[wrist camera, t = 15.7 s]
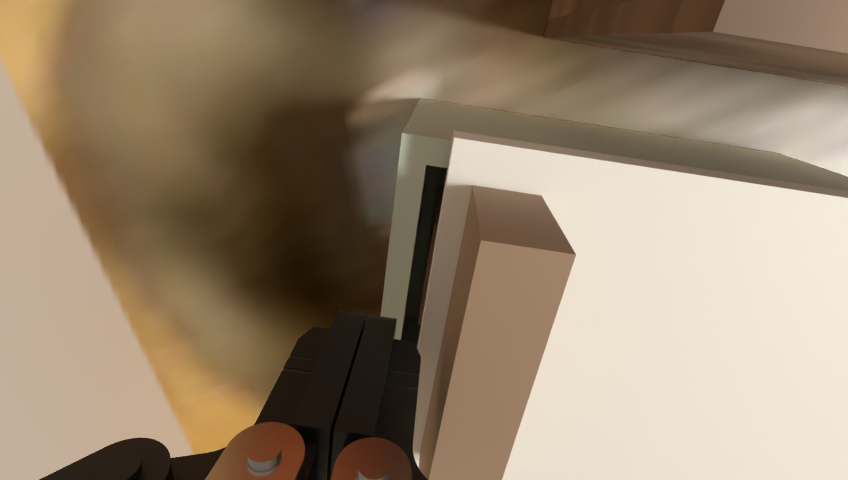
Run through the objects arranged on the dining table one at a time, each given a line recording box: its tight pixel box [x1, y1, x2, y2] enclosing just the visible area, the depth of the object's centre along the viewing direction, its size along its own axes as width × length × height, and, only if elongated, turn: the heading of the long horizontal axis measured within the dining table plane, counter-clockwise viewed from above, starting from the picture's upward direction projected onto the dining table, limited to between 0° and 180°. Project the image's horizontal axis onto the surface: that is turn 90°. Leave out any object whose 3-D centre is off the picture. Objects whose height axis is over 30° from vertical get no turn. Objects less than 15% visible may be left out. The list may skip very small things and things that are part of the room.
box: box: [381, 98, 848, 347], centre depth 16 cm, size 14×10×7 cm
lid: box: [413, 131, 848, 480], centre depth 11 cm, size 15×11×4 cm
